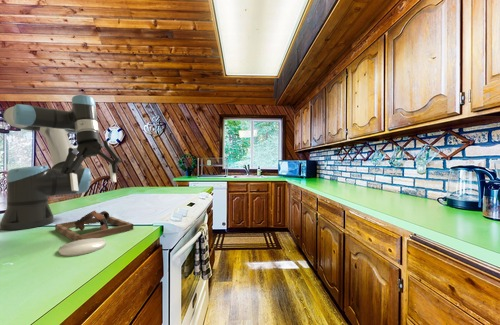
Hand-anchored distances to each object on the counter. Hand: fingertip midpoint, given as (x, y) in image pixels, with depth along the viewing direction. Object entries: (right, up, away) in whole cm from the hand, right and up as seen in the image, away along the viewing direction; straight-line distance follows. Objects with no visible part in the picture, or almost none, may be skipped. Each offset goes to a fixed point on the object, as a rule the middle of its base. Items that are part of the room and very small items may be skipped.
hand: (94, 186), depth 84 cm
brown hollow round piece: (0, -16, 0) cm, 16 cm away
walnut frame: (0, -16, 0) cm, 16 cm away
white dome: (+9, -16, -18) cm, 26 cm away
